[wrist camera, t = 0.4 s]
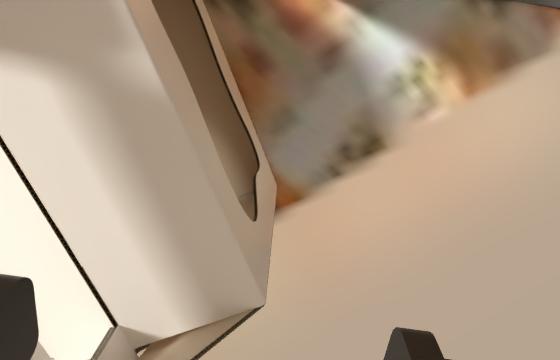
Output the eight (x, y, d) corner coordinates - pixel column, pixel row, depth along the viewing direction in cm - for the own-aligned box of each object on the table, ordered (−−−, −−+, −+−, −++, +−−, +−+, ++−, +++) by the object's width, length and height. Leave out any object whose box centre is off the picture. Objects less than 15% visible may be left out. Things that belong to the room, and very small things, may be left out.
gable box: (279, 189, 38) (247, 556, 11) (153, 231, 39) (-124, 629, 13) (176, -68, 31) (-537, -673, 4) (29, -1, 32) (-1083, -134, 6)
